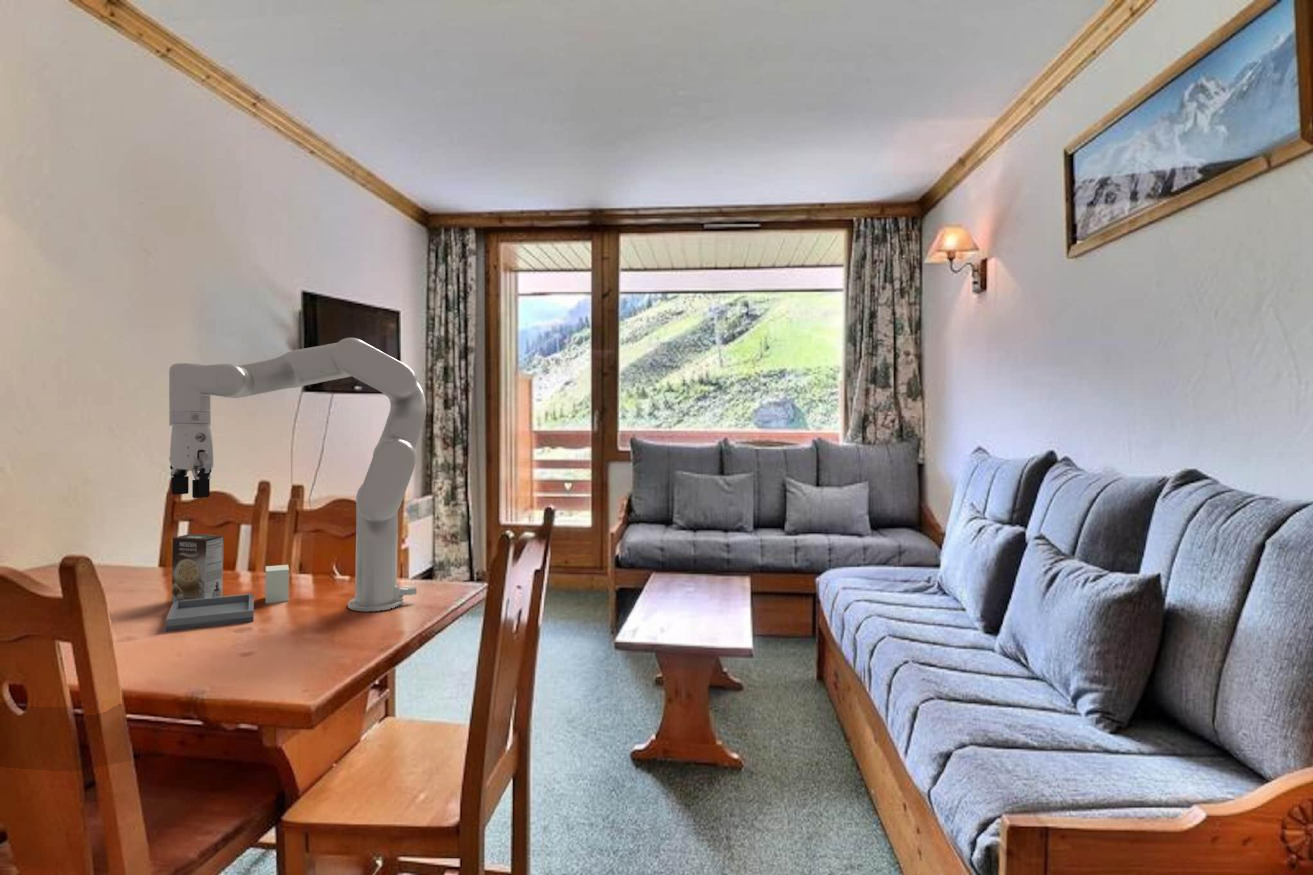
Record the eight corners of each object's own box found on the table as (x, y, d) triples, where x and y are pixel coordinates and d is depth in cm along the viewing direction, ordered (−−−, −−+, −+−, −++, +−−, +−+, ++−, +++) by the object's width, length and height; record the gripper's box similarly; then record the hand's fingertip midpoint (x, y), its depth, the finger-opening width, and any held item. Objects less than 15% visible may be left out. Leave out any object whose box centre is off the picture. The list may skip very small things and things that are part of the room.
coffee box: (169, 602, 162) (170, 537, 161) (190, 595, 168) (191, 533, 168) (204, 604, 161) (205, 539, 160) (224, 597, 167) (224, 534, 167)
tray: (253, 603, 163) (253, 593, 163) (253, 621, 149) (253, 610, 149) (173, 611, 155) (173, 601, 155) (165, 631, 141) (165, 619, 141)
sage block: (287, 595, 171) (288, 564, 171) (288, 601, 166) (289, 569, 166) (265, 597, 168) (265, 566, 168) (265, 603, 163) (265, 571, 163)
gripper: (228, 420, 146) (228, 497, 146) (190, 418, 155) (190, 491, 155) (189, 419, 139) (190, 500, 140) (153, 418, 148) (153, 494, 149)
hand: (190, 495), depth 148 cm, fingers open, 9 cm apart
